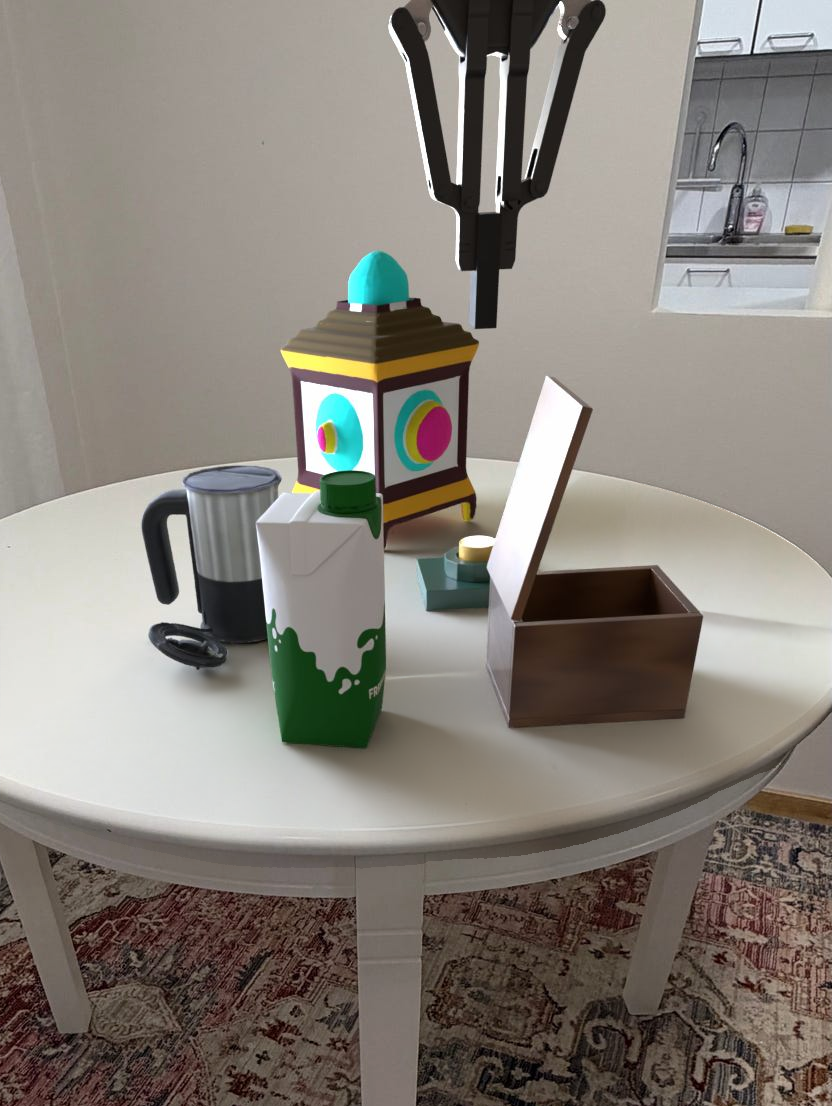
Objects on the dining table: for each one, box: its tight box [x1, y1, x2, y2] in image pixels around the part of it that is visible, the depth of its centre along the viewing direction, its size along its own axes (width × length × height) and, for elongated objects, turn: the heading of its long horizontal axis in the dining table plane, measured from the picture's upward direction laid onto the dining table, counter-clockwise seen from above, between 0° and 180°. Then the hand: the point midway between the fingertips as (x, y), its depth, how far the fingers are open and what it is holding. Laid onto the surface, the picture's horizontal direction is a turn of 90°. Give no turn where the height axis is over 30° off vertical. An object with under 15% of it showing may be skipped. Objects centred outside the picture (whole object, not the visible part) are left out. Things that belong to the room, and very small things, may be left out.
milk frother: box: [140, 465, 283, 671], centre depth 90 cm, size 14×16×15 cm
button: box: [458, 535, 496, 562], centre depth 100 cm, size 4×4×2 cm
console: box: [416, 545, 490, 612], centre depth 102 cm, size 12×10×4 cm
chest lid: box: [487, 375, 594, 621], centre depth 73 cm, size 15×12×1 cm
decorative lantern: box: [280, 250, 480, 551], centre depth 115 cm, size 20×20×30 cm
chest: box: [485, 564, 704, 729], centre depth 80 cm, size 15×12×9 cm
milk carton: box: [256, 470, 387, 749], centre depth 74 cm, size 9×9×20 cm
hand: (482, 325), depth 66 cm, fingers closed
